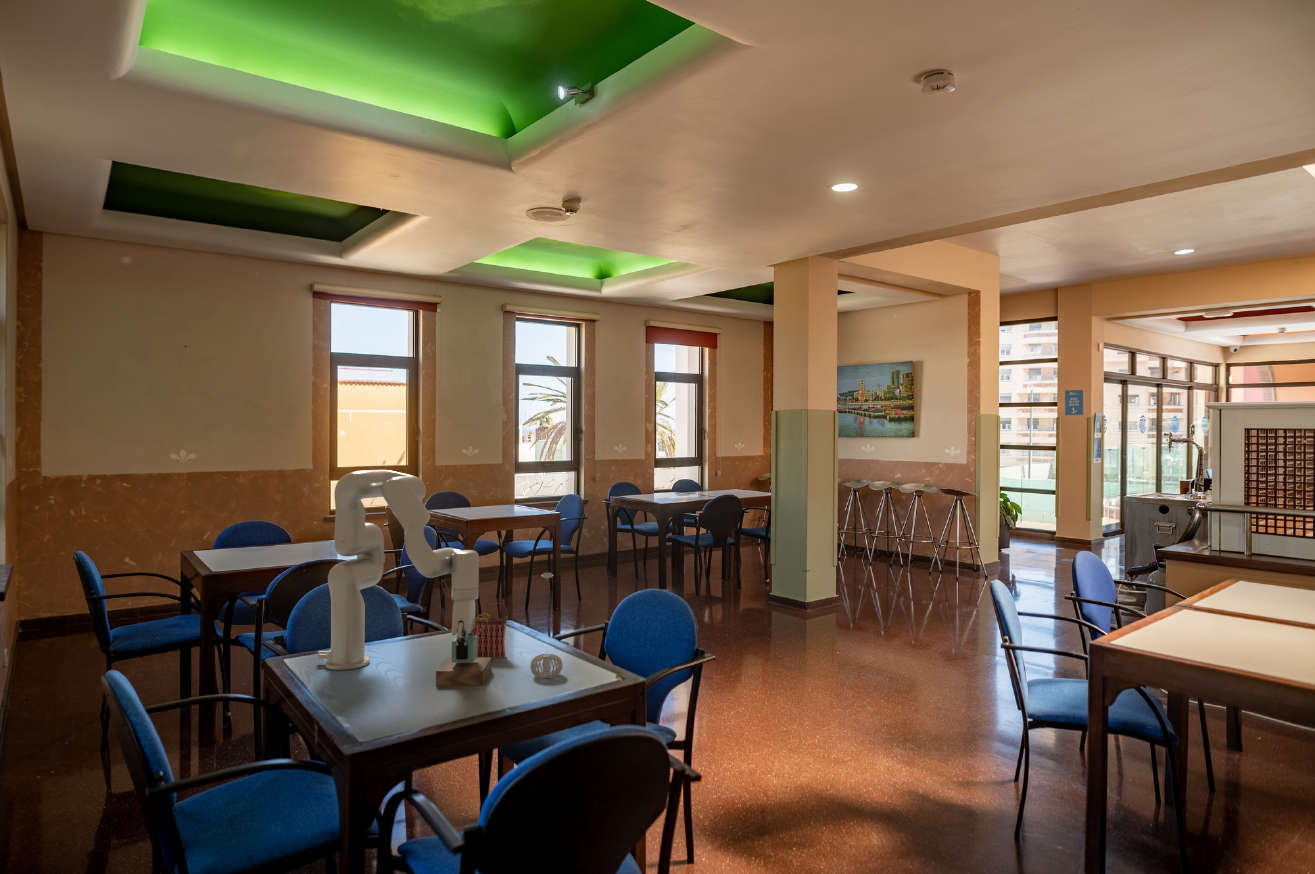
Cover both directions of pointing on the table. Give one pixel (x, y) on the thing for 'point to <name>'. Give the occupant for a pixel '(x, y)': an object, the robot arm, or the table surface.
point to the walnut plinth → (463, 672)
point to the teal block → (471, 649)
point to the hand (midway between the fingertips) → (464, 655)
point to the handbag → (489, 634)
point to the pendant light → (546, 658)
